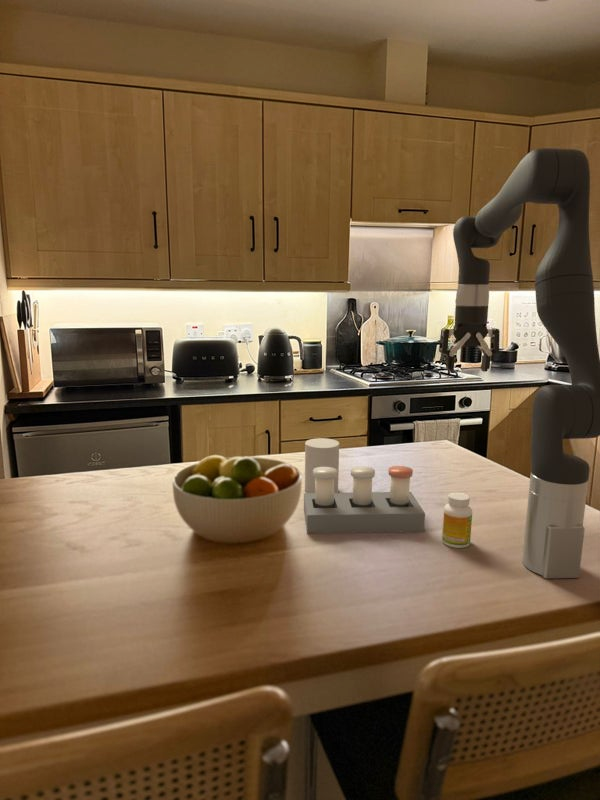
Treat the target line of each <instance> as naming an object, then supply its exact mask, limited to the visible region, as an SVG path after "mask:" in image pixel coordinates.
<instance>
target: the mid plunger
mask: <svg viewBox="0 0 600 800" xmlns="http://www.w3.org/2000/svg"><path fill="white" fill-rule="evenodd" d="M350 476H351V477H352V492H353V503H355V504H357V505H368V504H371V500H372V492H373V478H374V477H375V476H376V470H375V469H374V468H373V467H370V466H362V465H361V466H354V467H352V468H351V469H350Z"/></svg>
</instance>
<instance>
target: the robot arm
mask: <svg viewBox="0 0 600 800" xmlns="http://www.w3.org/2000/svg"><path fill="white" fill-rule="evenodd" d="M590 190H591V172H590V164H589V160H588V158H587V155H586V154H585V153H584V151H582V150H580V149H575V148H573V149H572V148H553V147H542V148H536V149H533V150H531V151H529V152H528V153H527V154H525V156H524V157H523V158H522V159H521V160H520V162H519V163H518V164H517V166H516V168H515V169H513V171H512V173H511V174H510V176H509V177H508V178H507V180H506V182H505V183H504V184H503V185H502V188H501V189H500V190H499V191H498V193H497V194H496V196H495V197H493V198H492V199H491V200H490V201H489V202H487V203H486V204H485V205H484V206H483V207H482V208H481V209H480V210H479V211H478V212H477V214H476V216H470V215H469V216H467V215H466V216H462V217H460V218H459V219H457V221H456V222H455V224H454V226H453V229H452V237H453V242H454V246H455V250H456V257H457V261H458V264H457V265H458V276H457V277H458V278H457V279H458V280H457V289H456V294H455V295H456V296H455V302H454V303H455V308H454V309H455V311H454V326H453V329H451V328H450V329H449V328H445V327H443V328H441V330H440V336H439V337H440V338H439V344H438V345H439V347H438V352H439V353H440V354H443V355H445V357H446V358H445V369H446V370H447V371H448V372H449V373H450V372H451V373H453V372H454V370H455V355H456V353H457V352H458V351H459V350H460V349H461V348H462V347H464V348H468V347H474V348H477V347H478V349H479V350H480V351H481V353H482V355H481V366H480V370H481V371H482V372H485V373H486V372H488V370H489V369H490V367H491V357H492V356H493V355H495V354H499V353H500V337H501V335H500V334H501V333H500V329H499V328H497V327H492V328H487V327H488V316H489V304H490V303H489V302H490V289H489V287H490V286H489V285H490V272H491V264H490V261H489V260H487V259H485V258H480V257H477V256H475V254H474V253H473V250H472V249H489V248H493V247H495V246H497V245H498V243H499V242H500V240H501V237H502V236H503V234H504V232H506V231H507V230H509V229H510V228H511V227H513V226H514V225H516V223H518V221H519V219H520V218H521V216H522V212H523V204H527V203H532V204H537V205H538V204H539V205H541V204H543V205H557V207H558V226H557V231H556V234H555V237H554V239H553V240H552V242H551V244H550V245H549V248H548V250H547V251H546V253H545V254H544V256H543V258H542V260H541V261H540V263H539V266H538V268H537V269H536V272H535V276H534V288H535V292H534V293H535V303H536V311H537V315H538V318H539V320H540V322H541V323H542V325H543V327H544V329H546V331H547V332H548V333H549V335H550V336H551V338H552V339H553V340H554V342H555V343H556V345H557V346H558V347H559V349H560V350H561V352H562V354H563V355H564V358H565V360H566V363H567V365H568V366H567V367H568V370H569V374H570V381H571V384H549V385H548V384H547V385H544V386H543V385H542V386H541V387H540V388H539V389H538V390H537V391H536V393H535V395H534V398H533V401H532V407H531V425H530V426H531V427H530V428H531V429H530V431H531V432H530V433H531V434H530V447H529V448H530V449H529V451H530V462H531V464H530V465H531V466H530V467H531V468H530V477H529V488H528V498H527V499H528V500H527V507H526V510H527V511H526V519H525V527H524V528H525V529H524V537H523V538H524V540H523V541H524V542H523V549H522V563H523V565H524V566H525V568H527V569H528V570H530V571H531V572H533V573H535V574H538V575H541V577H543V578H544V579H579V578H580V571H581V565H582V564H581V562H582V554H583V547H584V538H585V530H586V529H585V527H584V520H585V511H586V504H587V503H586V501H587V494H588V486H589V485H588V484H589V479H590V478H589V477H590V465H589V463H588V462H587V461H586V460H585V459H584V458H581V457H580V456H577V455H574V454H571V453H567V452H565V451H564V440H573V439H574V440H576V439H577V440H578V439H583V440H584V439H594V438H598V437H600V353H599V344H598V335H597V323H596V307H595V290H594V289H595V287H594V286H595V285H594V278H593V268H592V259H591V244H590V243H591V242H590V195H591V194H590V193H591V192H590ZM452 336H453V337H454V340H453V341H452V343H451V344H450V346H449V340H450V338H451V337H452ZM487 336H488V337H489V338H490V339H489V340H490V342H489V345H490V347H489V345H488V343H487V342H486V341H485V338H486V337H487ZM448 346H449V347H448Z"/></svg>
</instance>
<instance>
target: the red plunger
mask: <svg viewBox="0 0 600 800" xmlns="http://www.w3.org/2000/svg"><path fill="white" fill-rule="evenodd" d="M413 472H414V471H413V469H412V468H411V467H409V466H404V465H393V466H389V468H388V476H390V483H389V484H390V485H389V488H390V489H389V492H390V502H391V503H394V504H398V505H404V504H407V503H409V492H410V487H411V483H410V482H411V477H413V474H414V473H413Z"/></svg>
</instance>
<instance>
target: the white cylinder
mask: <svg viewBox="0 0 600 800" xmlns="http://www.w3.org/2000/svg"><path fill="white" fill-rule="evenodd" d="M304 445H305V446H304V448H305V449H304V491H305V492H304V493H315V477H314V476H313V469H315V468H317V467H332V468H335V469H336V470H337V476H336V477H335V478H334V493H339V476H340V475H339V467H340V442H339V440H336V439H333V438H332V439H331V438H327V437H326V438H325V437H324V438H323V437H322V438H321V437H318V438H311V439H307V440H306V441H305V442H304Z"/></svg>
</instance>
